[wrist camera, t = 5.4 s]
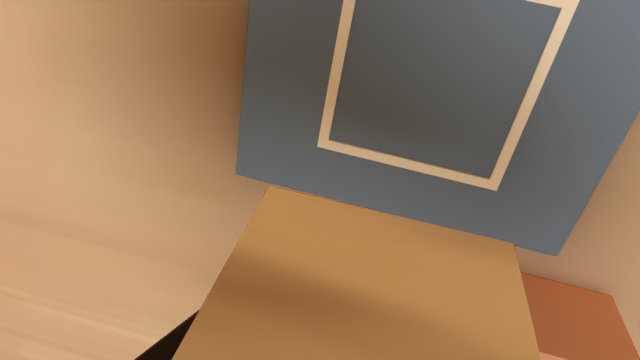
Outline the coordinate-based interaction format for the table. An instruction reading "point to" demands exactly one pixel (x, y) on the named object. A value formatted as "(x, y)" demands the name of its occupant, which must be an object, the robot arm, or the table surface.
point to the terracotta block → (576, 322)
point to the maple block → (360, 290)
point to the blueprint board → (443, 107)
